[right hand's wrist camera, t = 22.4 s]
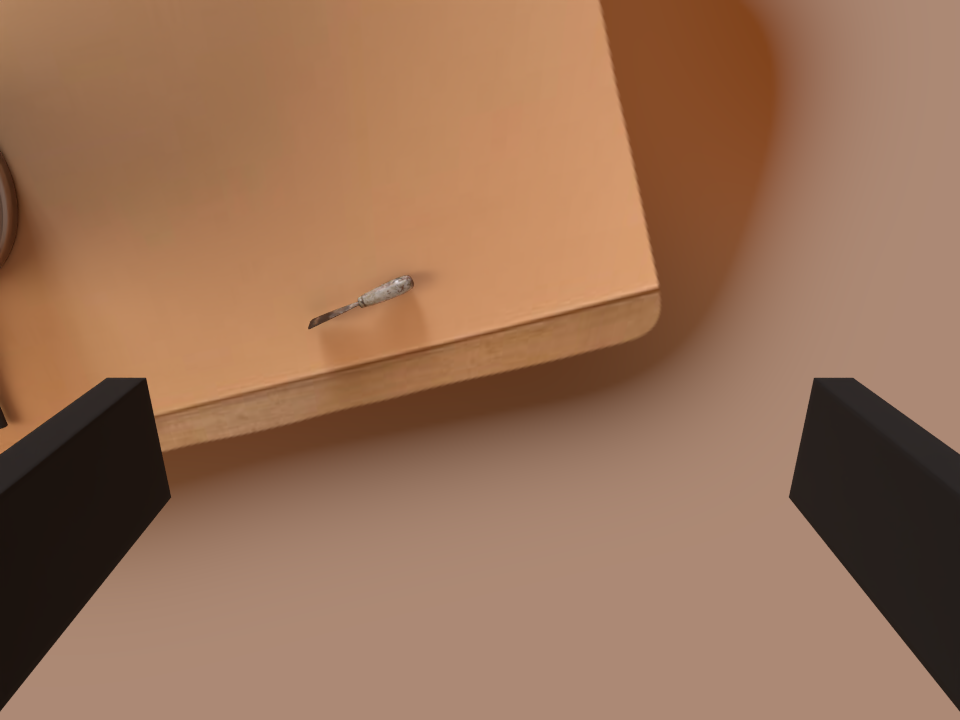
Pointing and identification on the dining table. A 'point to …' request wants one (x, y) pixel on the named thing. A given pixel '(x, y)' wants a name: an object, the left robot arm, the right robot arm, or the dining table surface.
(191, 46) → the dining table surface
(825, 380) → the right robot arm
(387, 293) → the putty knife
